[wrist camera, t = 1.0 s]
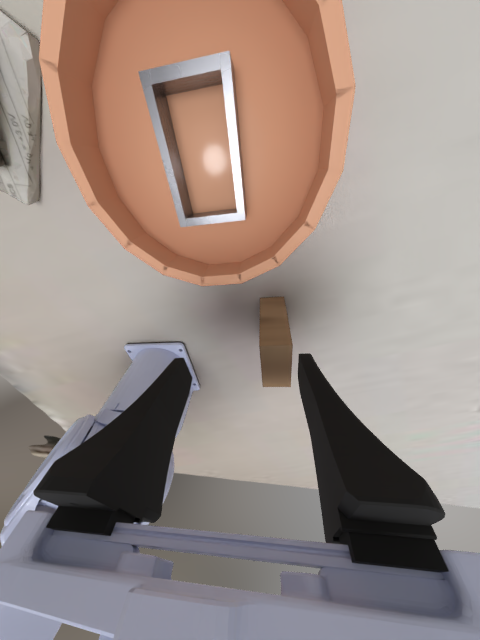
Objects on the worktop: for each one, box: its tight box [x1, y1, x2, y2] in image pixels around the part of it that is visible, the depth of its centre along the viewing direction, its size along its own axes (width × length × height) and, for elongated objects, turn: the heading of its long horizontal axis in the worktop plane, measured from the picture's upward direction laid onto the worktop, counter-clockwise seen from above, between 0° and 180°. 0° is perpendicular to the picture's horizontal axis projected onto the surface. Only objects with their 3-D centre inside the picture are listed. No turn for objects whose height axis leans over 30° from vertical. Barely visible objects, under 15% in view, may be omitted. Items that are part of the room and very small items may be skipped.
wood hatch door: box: [259, 297, 293, 387], centre depth 19 cm, size 5×2×7 cm, turn 7°
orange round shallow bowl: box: [39, 0, 355, 286], centre depth 13 cm, size 16×16×4 cm
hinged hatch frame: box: [138, 50, 247, 227], centre depth 13 cm, size 7×5×2 cm, turn 7°
